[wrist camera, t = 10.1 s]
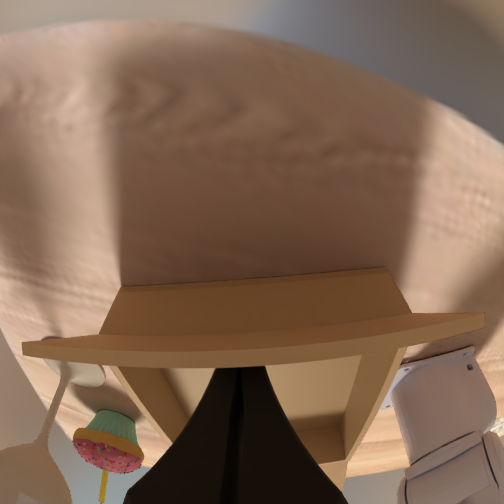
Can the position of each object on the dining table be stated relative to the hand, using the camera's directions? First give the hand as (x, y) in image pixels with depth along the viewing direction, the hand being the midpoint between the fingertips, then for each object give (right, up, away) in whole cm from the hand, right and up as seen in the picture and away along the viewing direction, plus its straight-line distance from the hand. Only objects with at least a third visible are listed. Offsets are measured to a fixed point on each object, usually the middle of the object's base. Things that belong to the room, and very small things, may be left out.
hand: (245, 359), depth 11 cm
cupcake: (-16, -16, +18) cm, 29 cm away
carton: (+1, -7, +13) cm, 15 cm away
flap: (0, 0, 0) cm, 0 cm away
